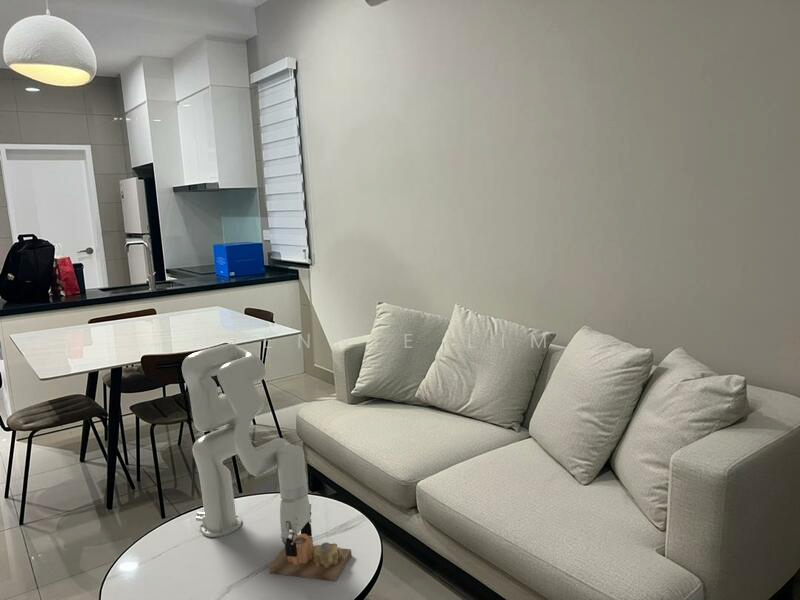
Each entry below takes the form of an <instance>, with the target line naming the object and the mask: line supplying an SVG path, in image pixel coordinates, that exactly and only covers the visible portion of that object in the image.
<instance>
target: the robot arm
mask: <svg viewBox="0 0 800 600" xmlns="http://www.w3.org/2000/svg"><path fill="white" fill-rule="evenodd" d="M266 371H267V370H266V366H265V364H264V363H263V361H262V359H260V357H258V355H256V354H255V353H253V352H251V351H250V350H247V349H246V348H244V347H242V346H241V345H238V344H236V343H232V342H231V343H224V344H221V345H218V346H214V347H209V348H205V349H202V350H198V351H196V352H193V353H191V354H189V355H188V356H186V357H185V358H184V360H183V361H182V365H181V372H182V377H183V379H184V380H183V381H184V382H185V384H186V386H187V390H188V394H189V401H190V407H191V415H192V420H193V425H194V426H195V429H196V430H197V431H199V432H202V433H204V432H205V433H206V432H209V433H206V434H204V435H202V436H200V437H199V438H198V439H196V440H195V442H194V443H193V444H192V451H191V452H192V455H193V458H194V462H195V464H196V467H197V471H198V476H199V483H200V484H199V485H200V491H201V497H202V505H203V511H197V513H196V517H195V521H196V522H202V525H201V533H202V534H203V535H204V536H206V537H209V538H220V537H224V536H227V535H230V534H232V533H234V532H236V531H237V530H239V528H241V526H242V524H243V520H242V518H241V516H240V515H238V514H236V513H237V512H236V506H235V505H236V504H235V498H234V489H233V488H234V487H233V478H232V474H231V471H230V469H229V467H227V466H226V465H224V463H223V462H224V461H225V460H227V459H229V458H231V457H234V456H235V455H236V456H238V457H239V459H240V461H241V464H242V465H243V467H244V470H246V471H247V472H248V473H249V474H250V475H252V476H254V477H259V476H262V475H264V474H266V473H269V472H271V471H273V470H274V469H277V474H278V482H279V483H278V485H279V486H278V487H279V494H280V508H279V516H280V517H279V519H280V532H281V534H280V538H281V541H282V543H283V544H284V547H285V551H286V556H291V557H296V556H297V548H296V543H294V542H295V538H296V534H297V535H299V533H300V534H303V533H304V534H307V535H308V536H312V537H313V533H312V518H311V516H312V503H310V500H309V495H308V493H309V492H308V491H309V490H308V482H307V472H306V471H307V470H306V462H305V451H304V449H303V447H301V446H299V445H296V444H292V443H291V442H289V441H288V440H287V439H285V438H282V437H279V438H275V439H272V440H270V441H268V442H266V443H263V444H261V445H258V446H257V447H254V445H253V443H252V441H251V438H250V426H251V424H252V421H253V419H255V417H256V416H257V415H258V414H260V413H261V411H263V408H264V406H265V404H264V401H263V399H262V397H261V395H260V394H259V392H258V390H257V386H256V385H255V384H256V383H259V382H260V381H261V382H262V381H263V380H264V378H265V377H266V374H267V372H266ZM215 376H216V378H217V381H218V383H219V385H220V386H221V389H222V391H223V393H222V394H220V395H219V389H218V385H217V383H216V381H215V380H214V379H213V378H212V377H215ZM223 426H224V427H223ZM221 427H222V428H221ZM218 428H220V429H218ZM216 429H217V430H216ZM213 430H214V431H213ZM210 431H212V432H210ZM290 530H291V531H290ZM289 535H291V537H292V540H291V539H290V538H291V537H289Z"/></svg>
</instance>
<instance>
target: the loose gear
mask: <svg viewBox="0 0 800 600" xmlns="http://www.w3.org/2000/svg"><path fill="white" fill-rule="evenodd" d="M289 538H290V539H291V540H292V536H291V537H289ZM298 540H303V541H304V543H302V544H298V545H297V544H296V548H297V556H296V557H291V556H287V557H288V561H289V562H293V564H296V565H297V564H300V563H303V564H304V563H307V561H308V560H310V559H313V550H314V549H313V545H314V543H313V541H314V540H313V535H312V536H308V535H307V534H304V533H303V534H301V533H300V534H296V538H295V542H296V541H298ZM295 542H294V543H295Z"/></svg>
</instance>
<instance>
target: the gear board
mask: <svg viewBox="0 0 800 600" xmlns="http://www.w3.org/2000/svg"><path fill="white" fill-rule="evenodd" d="M295 543H296V544H297V545H298V544H302V543H304V541H303V540H298V541H296V542H295ZM313 549H314V550H313V559H310V560H308V561H307V563H304V564H303V563H300V564H297V565H296V564H293V562H289V561H288V557H287V556H286V551H285V546H284V547H283V549H282V550H281V551H280V552H279V554H278V555H277V556H276V557H275V559H274V560H273V561H272V562H271V563H270V565H269V566H268V569H269V574H274V575H282V576H288V577H289V576H290V577H296V578H297V577H299V578H305V579H307V578H308V579H315V580H322V581H329V582H330V581H332V582H337V580H338V579H339V578H340V576H341V574H342V572H343V571H344V569H345V567H346V566H347V565H348V562H349V561H350V559H351V558H352V556H353V555H352V549H351V548H341V547H340V546H339V547H338V544H337V543H335V542H334V543H330V542H323V543H321V544H320V545H319V544H317V545H314V544H313Z"/></svg>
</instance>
